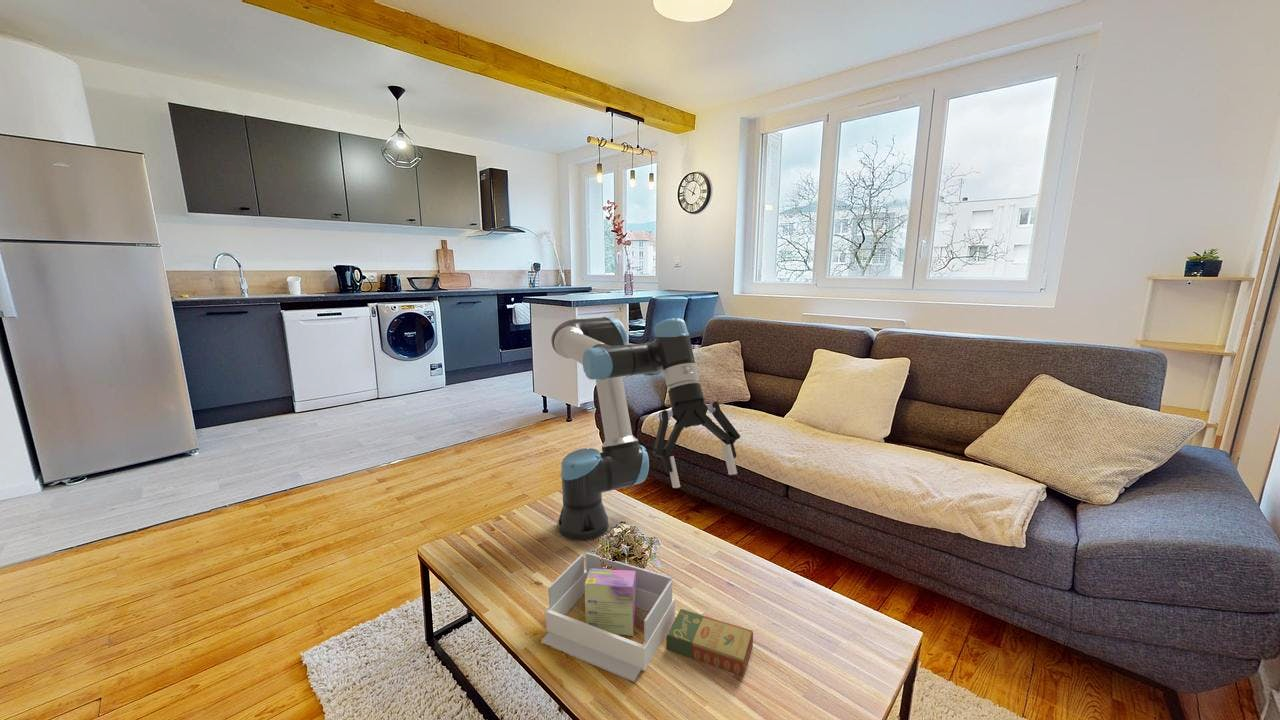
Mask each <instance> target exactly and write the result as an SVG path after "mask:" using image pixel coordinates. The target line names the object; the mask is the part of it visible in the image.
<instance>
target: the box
mask: <svg viewBox="0 0 1280 720" xmlns="http://www.w3.org/2000/svg"><path fill="white" fill-rule="evenodd" d="M584 608H585V609H584V610H585V615H584V616H585V623H586V624H589V625H592V626H594V627H597V628H600V629H602V630H605V631H608V632H610V633H613V634H616V635H618V636H621V635H622V636H629V637H632V636H633V637H634V634H635V626H636V619H637V608H636V571H629V570H612V569H594V568H590V570H589V573H588V576H587V579H586V582H585V593H584Z"/></svg>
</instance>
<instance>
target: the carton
mask: <svg viewBox="0 0 1280 720" xmlns="http://www.w3.org/2000/svg"><path fill="white" fill-rule="evenodd" d="M665 643H666V650H667V651H669V652H673V653H676V654H678V655H680V656H681V655H682V656H684V657H686V658H689V659H692V660H695V661H698V662H701V663H703V664H706V665H708V666H712V667H714V668H718V669H720V670H723V671H726V672H729V673H731V674H734V675H737V676H738V677H742V678H744V676H745V673H746V671H747V670H746V669H747V666H748V663H749V659H750V657H751V654H752V650H753V646H754V631H753V630H751V629H748V628H745V627H742V626H739V625H735V624H731V623H729V622H725V621H722V620H718V619H715V618H712V617H709V616H705V615H701V614H699V613H696V612H693V611H690V610H686V609H683V608H680V609H679V611H678V613H677V615H676V616H675V619H674V621H673V622H672V624H671V626H670V628H669V630H668V631H667V633H666V641H665Z"/></svg>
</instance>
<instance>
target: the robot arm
mask: <svg viewBox="0 0 1280 720" xmlns="http://www.w3.org/2000/svg"><path fill="white" fill-rule="evenodd" d="M654 337H655V339H653V340H652V341H651V342H644V343H635V344H628V334H627V331H626V328H625V326H624V324H623V323H622V321H621V320H620V319H618V318H617V317H611V316H609V317H606V316H602V317H591V318H574V319H569V320H566V321H564V322H562V323H561V324H559V325H557V327H556V328H554V331H553V332H552V335H551V341H550V342H551V346H552V348H553V350H554V351H555V352H556V354H558V355H559V356H560V357H563V358H564V359H565V358H566V359H572V360H574V361H576V362H577V363H579V364H581V365H582V369H583V372H584V373H585V376H586V378H588V379H589V380H591V381H592V380H593V381H595V385H596V390H597V396H598V402H599V408H600V410H599V411H600V415H601V422H602V427H603V433H604V442H603V444H602V445H601V451H602V452H600V451H599V450H598V449H596V448H591V447H590V448H587V447H585V448H580V449H576V450H574V451H572V452H569V453H568V454H567V455H566V456H565V457H564V458H562V461H561V466H560V467H561V470H560V471H561V472H560V477H561V488H562V489H561V492H562V507H561V511H560V514H559V517H558V520H557V525H558V527H557V528H558V532H559V534H560V535H561V537H563V538H565V539H567V538H568V540H572V541H587V540H594V539H596V538H598V537H601V536H602V535H603V534H605V533H606V532H607V530H608V528H609V516H608V515H607V512H606V509H605V506H604V503H603V499H602V498H603V494H602V493H606V492H610V491H614V490H619V489H624V488H626V487H627V488H628V487H634V486H636V485H639V484H641V483H644V481H646V479H647V476H648V475H649V469H650V460H649V454H648V451H647V449H646V448H645V446H644V445H641V444H640V443H639V439H638V438H636V437H635V436H634V435H633V432H632V426H631V425H632V424H631V420H630V415H629V409H628V402H627V397H626V396H627V395H626V391H625V386H624V380H623V377H630V376H640V375H643V376H646V377H654V376H658V375H660V374H661V373H663V374H664V380H665V384H666V385H665V386H666V387H667V388H668V391H667V392H668V398H669V402H670V406H671V410H666V409H664V410H662V411H660V412H659V413H658V417H659V423H658V428H657V433H656V438H655V442H654V444H653V445H654V446H653V450H652V455H653V456H654V457H659V458H661V459H662V462H663V467H664V471H665V473H668V474H669V477H670V481H671V485H672V488H673V489H678V488H681V484H680V479H679V474H678V470H677V465H676V460H675V456H674V455H671V453H672V451H673V449H674V448H675V445H676V443H677V440H678V439H679V438H680V434H681V432H682V431H683V430H684V428H685V429H686V428H690V427H697V426H703V427H705V428H706V429H707V430H708V431H710V433H712V434H713V435H714V436H715V437H716V438H718V439H719V440H720V441H721V442H722V443H724V444H725V445H722V446H721V448H722V452H723V456H724V460H725V464H726V467H727V472H728V476H732V475H738V471H737V470H738V469H737V466H736V463H735V459H736V458H737V452H736V449H735V443H736V441H737V440H739V439H740V438H741V435H740V433H739V432H738V431H737V429H736V428H735V427H734V425H732V422H730V420H729V419H728V418H727V417H726V415H725V414H724V413H723V411H722V409H721V406H720V405H719V402H718V401H716V400H715V401H713V402H710V403H708V404H706V402H705V401H704V400H705V399H704V398H705V397H704V393H703V389H702V384H700V383H699V381H700V377H699V372H698V367H697V365H696V361H695V355H694V350H693V345H692V342H691V341H692V340H691V337H690V333H689V331H688V328H687V324H686V321H685V320H684V319H682V318H679V317H677V318H676V317H673V318H667V319H664V320H661V321H659V322H657V323H656V324H655V325H654ZM707 412H709V413H710V414H712V416H713V418H715V420H716V421H717V423H718V424H719V425H717V424H716V423H715V422H714V421H713V420H712V418H710V417H709V415H707ZM671 417H672V418H673V419H674V420H675V424H673V425H674V426H673V429H672V431H671V433H670V435H669V437H668V439H667V441H666V443H665V438H666V434H667V430H668V426H669V421H670V420H671ZM664 443H665V445H664ZM670 455H671V456H670Z"/></svg>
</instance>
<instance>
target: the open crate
mask: <svg viewBox="0 0 1280 720" xmlns="http://www.w3.org/2000/svg"><path fill="white" fill-rule="evenodd" d="M600 556H601V555H597V554H594V553H591V552H588V551H587V552H585V556H584V554H582V553H581V554H580V555H579V556H578V557H577V558H576V559H575V560H574V561H573V562H572V563H571V564H570V565H569V566H568V567H567V568H566V569H565V570H564V571H563V572H562V573H561V574H560V575H559V576H558V577H557V578H556V579H555V580H553V582H552V583H550V585H549V586H548V587H547V590H548V592H547V593H548V606H549V607H548V608H546V610H545V611H544V613H545V614H544V616H545V632H546V631H548V632H546V634H545V636H544V637H542V639H541V640H542V642H543V643H545V644H547V645H549V646H552V647H554V648H556V649H558V650H557V651H559V650H561V651H563V652H564V653H563V652H562V653H563V654H566V653H567V654H566V655H568V654H569V655H568V656H571V657H573V656H574V657H573V658H575V657H576V658H575V659H578V660H580V661H582V662H585V663H588V664H590V665H593V666H595V667H596V668H597V667H598V669H599V668H600V669H602V670H605V671H606V672H609V673H612V674H614V675H616V676H619V677H622V678H623V679H626V680H629V681H631V682H633V683H635V682H636V679H637V678H638V677H639V674H640V672H641V671H643V672H646V670H647V668H648V667H649V665H650V664H651V661H652V660H653V658H654V656H655V654H656V652H657V651H658V650H659V647H660V646H661V645H662V644H661V643H662V642H663V640H664V638H665V636H667V633H668V631H669V630H670V628H671V626H672V624H673V622H674V621H675V619H676V598H675V597H673V581H672V576H669V575H665V574H662V573H658V572H655V571H652V570H648V569H645V568H642V567H638V566H634V565H632V564H628V563H625V562H622V561H617V560H615V561H612V560H613V559H611V560H609V559H610V558H608V559H606V558H607V557H605V558H602V557H603V556H601V557H600ZM584 557H585V559H584ZM600 558H601V559H600ZM584 560H585V561H584ZM600 560H601V562H600ZM602 560H604V565H605V564H606V565H607V566H609V567H611V566H612V567H615V568H616V569H617V570H629V571H636V609H638V610H642V611H646V612H648V614H647V616H646V617H645V618H644V620H643V626H644V627H643V629H644V630H643V631H644V633H643V635H644V642H643V644H642V643H639V642H636V641H634V640H632V639H628V638H625V637H623V636H621V635H619V634H613V633H610V632H608V631H605V630H602V629H600V628H597V627H594V626H592V625H589V624H586V622H583V621H580V620H579V619H575V618H572V617H571V616H568V615H567V614H568V613H569V612H570V610H571V609H572V608H573V607H574V606H575V605H576V603H577V602H578V601H579V600H580V599H581V598H582V597H583V595H585V582H586V579H587V576H588V573H589V570H590V568H594V569H606V567H605V568H603V566H602V567H601V563H602ZM584 562H585V563H584ZM544 640H545V641H544ZM547 645H546V646H547ZM549 646H548V647H549ZM552 647H551V648H552ZM554 648H553V649H554ZM556 649H555V650H556ZM561 651H560V652H561Z"/></svg>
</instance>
